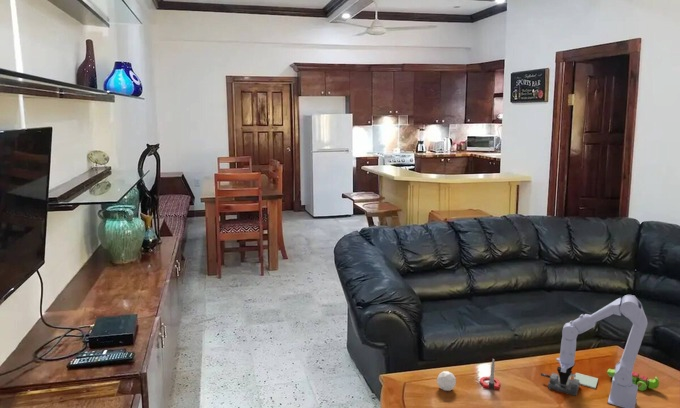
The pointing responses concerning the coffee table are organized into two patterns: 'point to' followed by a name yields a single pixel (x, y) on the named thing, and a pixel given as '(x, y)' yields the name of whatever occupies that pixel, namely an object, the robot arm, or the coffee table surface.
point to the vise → (558, 387)
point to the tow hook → (492, 380)
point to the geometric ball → (446, 380)
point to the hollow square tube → (568, 379)
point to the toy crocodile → (639, 380)
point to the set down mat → (587, 380)
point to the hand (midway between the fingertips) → (564, 381)
